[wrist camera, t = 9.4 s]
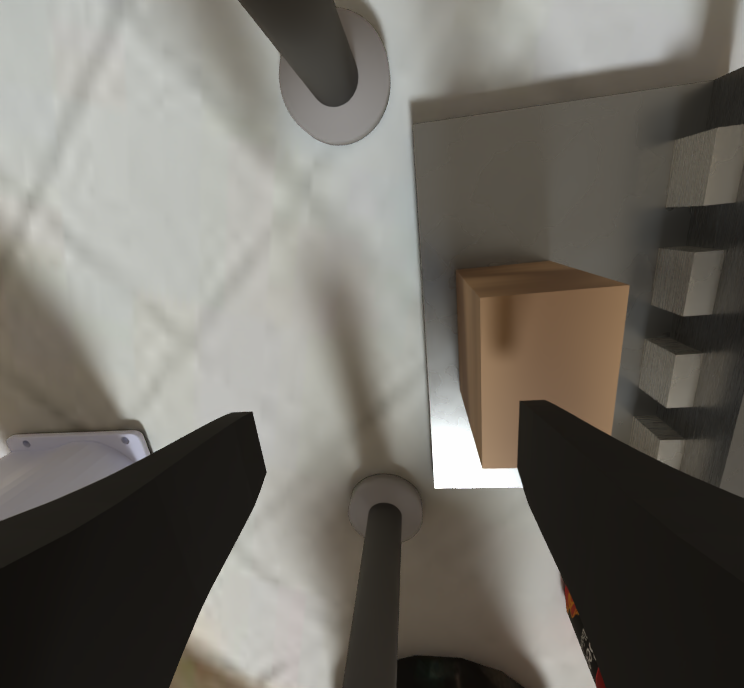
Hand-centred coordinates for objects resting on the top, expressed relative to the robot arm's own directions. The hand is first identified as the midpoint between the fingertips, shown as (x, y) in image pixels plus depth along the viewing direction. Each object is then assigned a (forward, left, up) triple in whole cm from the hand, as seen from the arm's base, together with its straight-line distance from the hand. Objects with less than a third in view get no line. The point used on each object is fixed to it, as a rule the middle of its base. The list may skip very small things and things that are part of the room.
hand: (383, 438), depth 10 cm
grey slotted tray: (+8, 0, -9) cm, 12 cm away
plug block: (+5, 0, -8) cm, 10 cm away
